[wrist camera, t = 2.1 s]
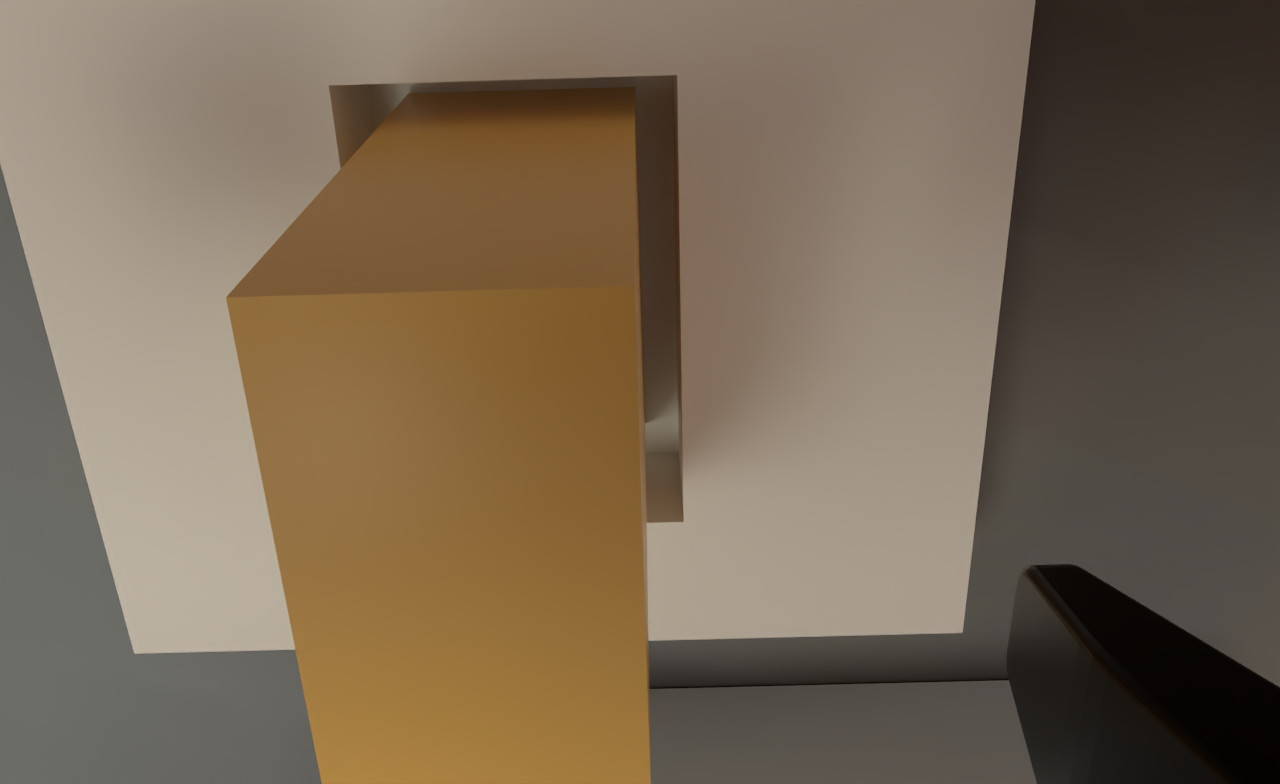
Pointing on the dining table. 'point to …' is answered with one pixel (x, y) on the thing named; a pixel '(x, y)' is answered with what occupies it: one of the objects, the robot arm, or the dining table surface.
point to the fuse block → (669, 261)
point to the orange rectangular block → (463, 443)
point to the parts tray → (839, 734)
